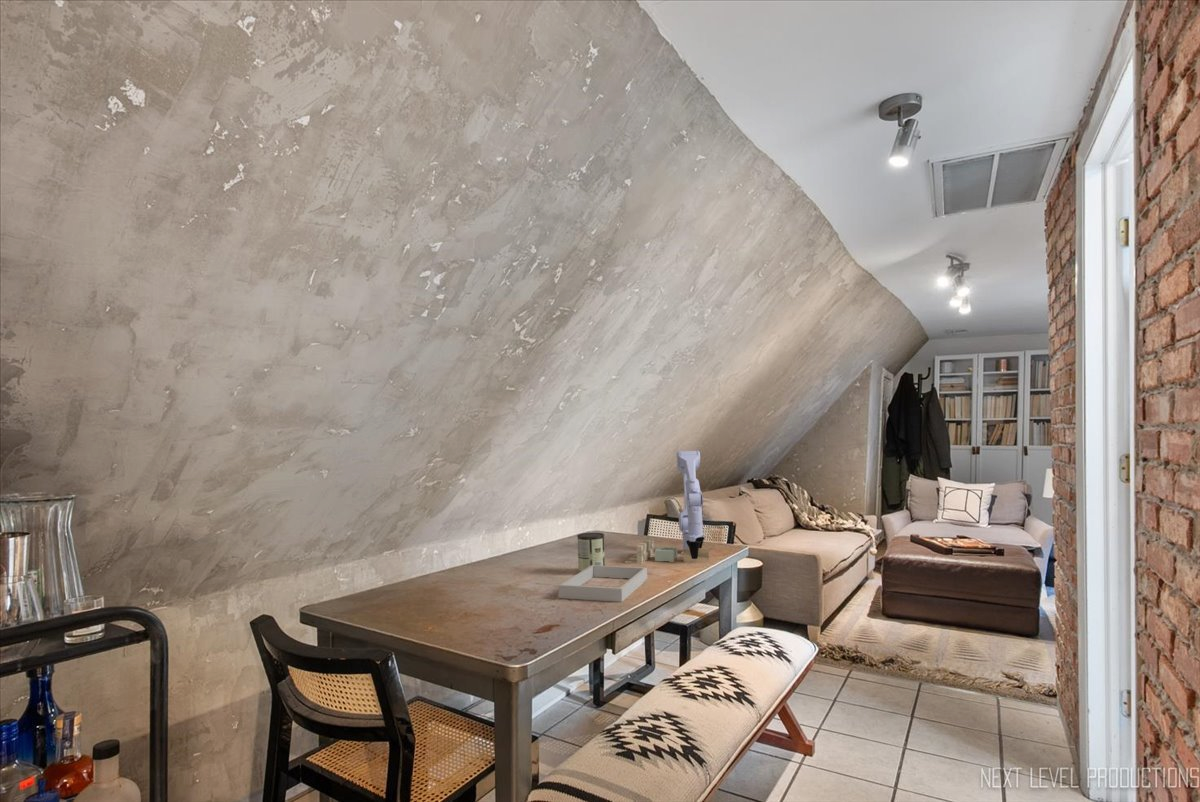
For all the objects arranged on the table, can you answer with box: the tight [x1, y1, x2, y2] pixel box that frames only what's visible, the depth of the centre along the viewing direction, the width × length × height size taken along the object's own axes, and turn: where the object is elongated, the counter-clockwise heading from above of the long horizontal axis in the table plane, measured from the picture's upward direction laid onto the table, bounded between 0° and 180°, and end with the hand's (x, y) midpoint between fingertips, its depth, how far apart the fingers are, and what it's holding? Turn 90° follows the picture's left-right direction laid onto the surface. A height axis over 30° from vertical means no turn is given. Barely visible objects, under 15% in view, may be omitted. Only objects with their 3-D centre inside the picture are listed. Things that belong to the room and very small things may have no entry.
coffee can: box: [576, 532, 606, 573], centre depth 240 cm, size 10×10×14 cm
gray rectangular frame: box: [558, 565, 648, 603], centre depth 213 cm, size 32×21×4 cm, turn 162°
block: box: [654, 546, 679, 563], centre depth 259 cm, size 9×8×4 cm
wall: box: [624, 537, 655, 564], centre depth 262 cm, size 20×7×7 cm, turn 162°
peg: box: [682, 547, 710, 563], centre depth 255 cm, size 4×10×5 cm, turn 82°
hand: (696, 556), depth 255 cm, fingers open, 7 cm apart
